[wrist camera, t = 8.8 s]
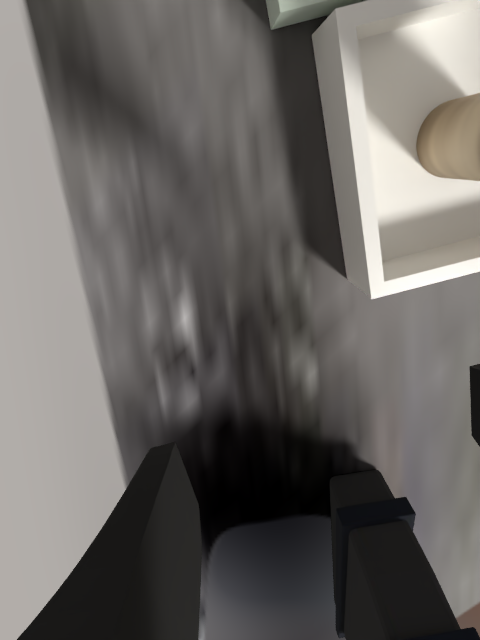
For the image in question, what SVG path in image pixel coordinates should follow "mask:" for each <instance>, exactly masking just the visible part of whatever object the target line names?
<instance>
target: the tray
mask: <svg viewBox="0 0 480 640" xmlns="http://www.w3.org/2000/svg"><path fill="white" fill-rule="evenodd" d="M312 42H313V49H314V56H315V63H316V69H317V76H318V83H319V90H320V97H321V104H322V111H323V117H324V124H325V131H326V138H327V145H328V152H329V159H330V165H331V172H332V179H333V186H334V193H335V200H336V207H337V213H338V220H339V227H340V234H341V241H342V248H343V255H344V261H345V268H346V275H347V280H349V281H350V282H351V283H352V284H353V285H355V286H356V287H357V288H358V289H360V290H361V291H362V292H363V293H364V294H366V295H367V296H368V297H369V298H371V299H374V298H378V297H382V296H386V295H390V294H394V293H398V292H402V291H405V290H409V289H413V288H417V287H421V286H425V285H429V284H433V283H437V282H440V281H444V280H448V279H452V278H456V277H460V276H464V275H468V274H471V273H475V272H479V271H480V181H473V180H462V179H450V178H440V177H436V176H434V175H432V174H430V173H429V172H427V171H426V170H425V169H424V168H423V166H422V165H421V163H420V161H419V159H418V155H417V149H416V143H417V136H418V132H419V129H420V127H421V125H422V123H423V121H424V120H425V118H426V117H427V116H428V114H429V113H430V112H431V111H432V110H433V109H435V108H436V107H437V106H439V105H440V104H442V103H444V102H447V101H449V100H453V99H457V98H461V97H465V96H469V95H473V94H477V93H480V0H367V1H363V2H359V3H356V4H352V5H348V6H344V7H340V8H336V9H335V10H334V11H333V12H332V13H331V14H330V15H329V16H328V17H327V19H326V20H325V21H324V22H323V23H322V24H321V25H320V26H319V28H318V29H317V30H316V31H315V32H314V33H313V34H312Z"/></svg>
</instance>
